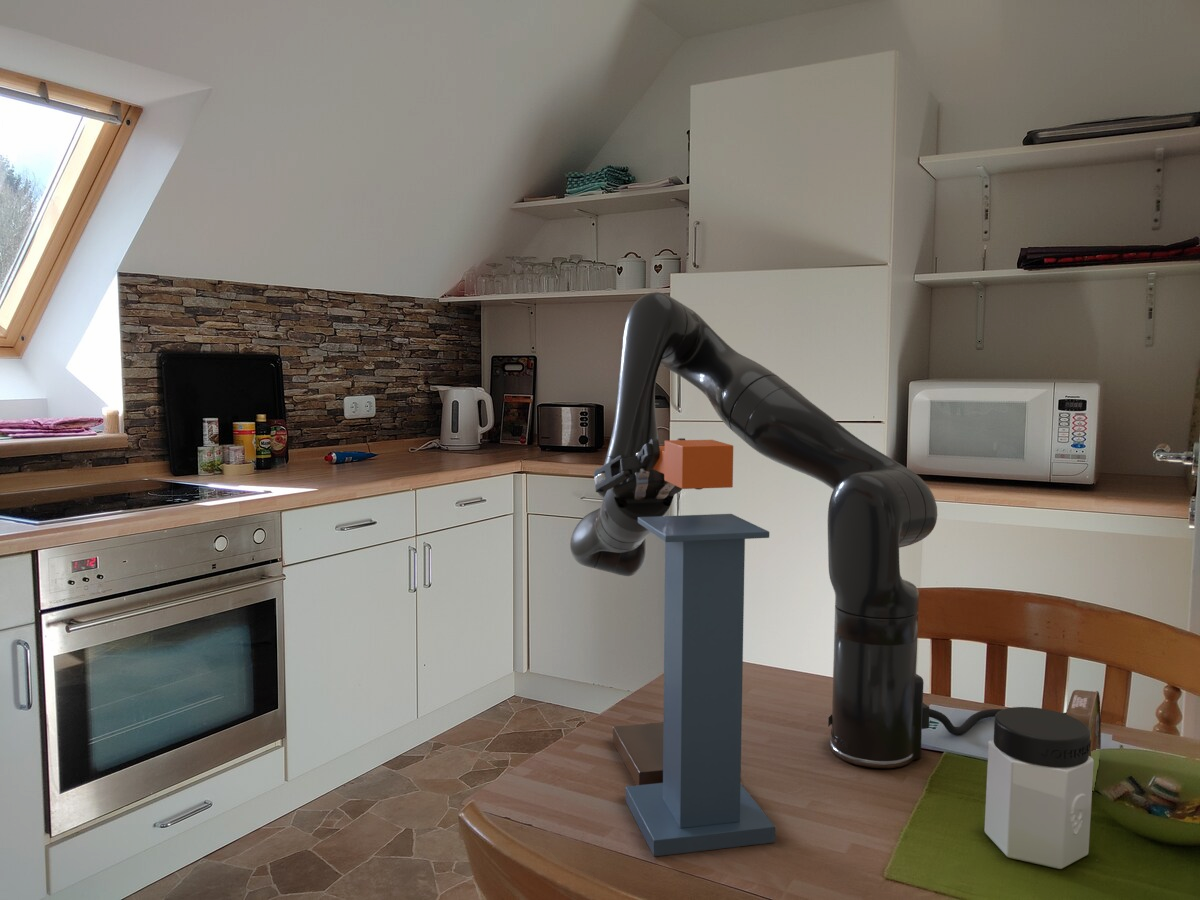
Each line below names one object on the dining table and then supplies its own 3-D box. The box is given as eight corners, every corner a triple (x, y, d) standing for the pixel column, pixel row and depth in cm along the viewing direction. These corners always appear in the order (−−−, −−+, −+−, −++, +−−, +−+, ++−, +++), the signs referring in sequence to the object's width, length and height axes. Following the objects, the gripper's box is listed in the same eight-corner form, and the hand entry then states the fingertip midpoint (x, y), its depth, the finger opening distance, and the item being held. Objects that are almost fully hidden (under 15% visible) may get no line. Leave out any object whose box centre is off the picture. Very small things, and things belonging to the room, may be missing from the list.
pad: (684, 736, 112) (684, 720, 112) (719, 782, 100) (719, 764, 100) (612, 742, 111) (612, 726, 110) (639, 790, 98) (639, 772, 98)
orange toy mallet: (680, 466, 103) (681, 431, 103) (732, 487, 87) (733, 445, 87) (637, 467, 102) (637, 431, 102) (682, 489, 86) (682, 446, 86)
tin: (1091, 805, 95) (1096, 726, 94) (1057, 797, 97) (1061, 720, 96) (1102, 752, 108) (1106, 682, 107) (1072, 746, 110) (1075, 677, 109)
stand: (734, 789, 99) (739, 512, 96) (775, 842, 88) (782, 532, 85) (625, 801, 96) (626, 516, 93) (653, 856, 85) (656, 537, 82)
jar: (1049, 879, 82) (1056, 749, 81) (968, 839, 88) (973, 718, 87) (1103, 850, 87) (1111, 726, 85) (1023, 814, 93) (1028, 699, 92)
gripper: (576, 477, 114) (602, 415, 98) (684, 474, 117) (726, 414, 101) (582, 535, 111) (610, 480, 95) (692, 530, 114) (737, 477, 98)
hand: (669, 446), depth 98 cm, fingers closed on orange toy mallet, 2 cm apart
